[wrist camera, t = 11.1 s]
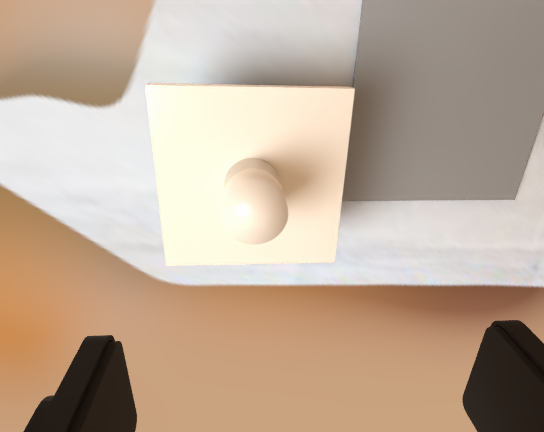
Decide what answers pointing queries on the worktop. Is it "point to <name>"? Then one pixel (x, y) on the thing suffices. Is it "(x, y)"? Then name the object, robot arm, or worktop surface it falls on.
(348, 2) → the worktop surface
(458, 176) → the mat
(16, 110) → the worktop surface
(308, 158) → the lid
